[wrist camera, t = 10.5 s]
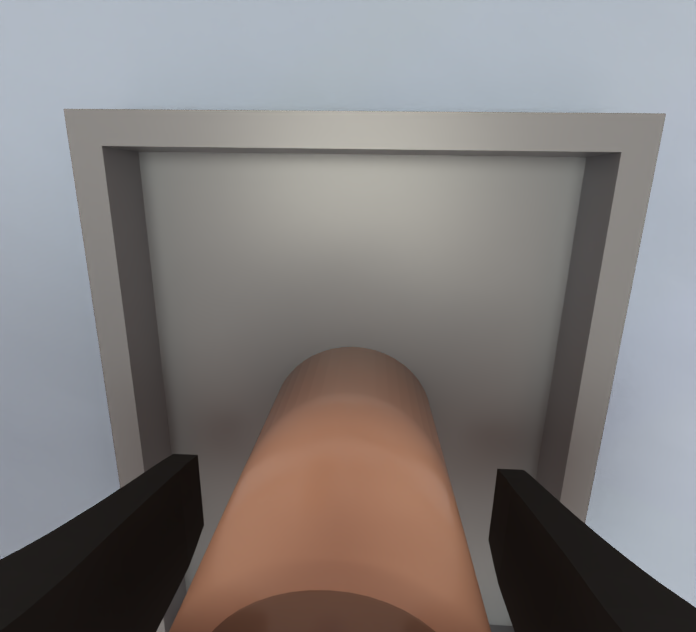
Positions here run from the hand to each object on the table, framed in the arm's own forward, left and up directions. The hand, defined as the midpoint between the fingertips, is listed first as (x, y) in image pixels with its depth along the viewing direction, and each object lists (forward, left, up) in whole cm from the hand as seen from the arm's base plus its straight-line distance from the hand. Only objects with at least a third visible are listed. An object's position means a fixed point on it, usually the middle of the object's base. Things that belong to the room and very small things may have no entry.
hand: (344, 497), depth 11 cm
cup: (0, 0, -4) cm, 4 cm away
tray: (0, 0, -4) cm, 4 cm away
